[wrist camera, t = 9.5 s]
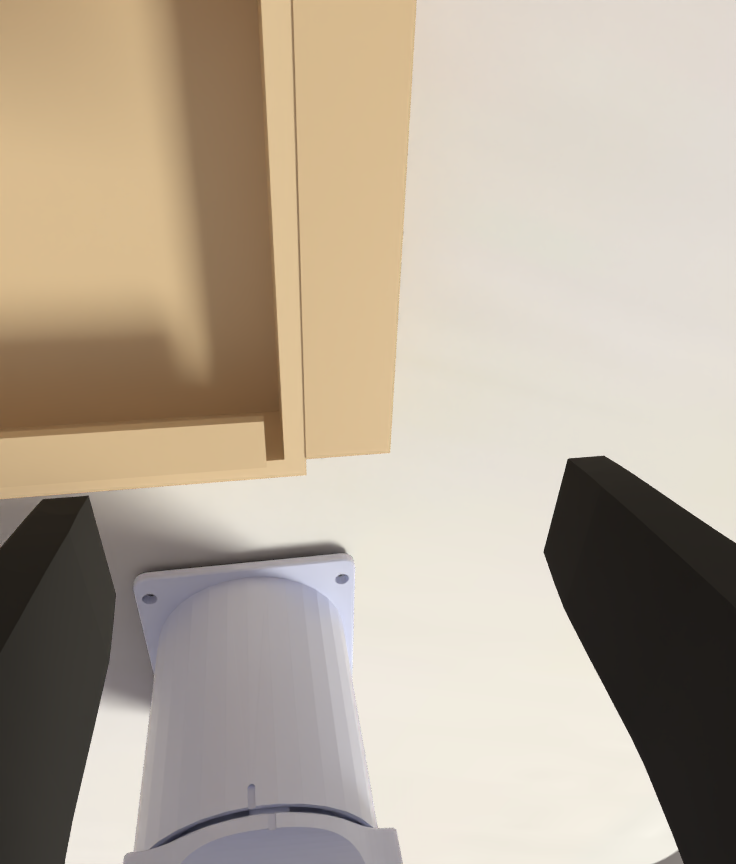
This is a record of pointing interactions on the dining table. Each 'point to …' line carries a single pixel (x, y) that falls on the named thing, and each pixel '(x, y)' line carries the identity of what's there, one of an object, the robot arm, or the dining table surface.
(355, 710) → the robot arm
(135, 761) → the dining table surface
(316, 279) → the tan wooden shallow tray
